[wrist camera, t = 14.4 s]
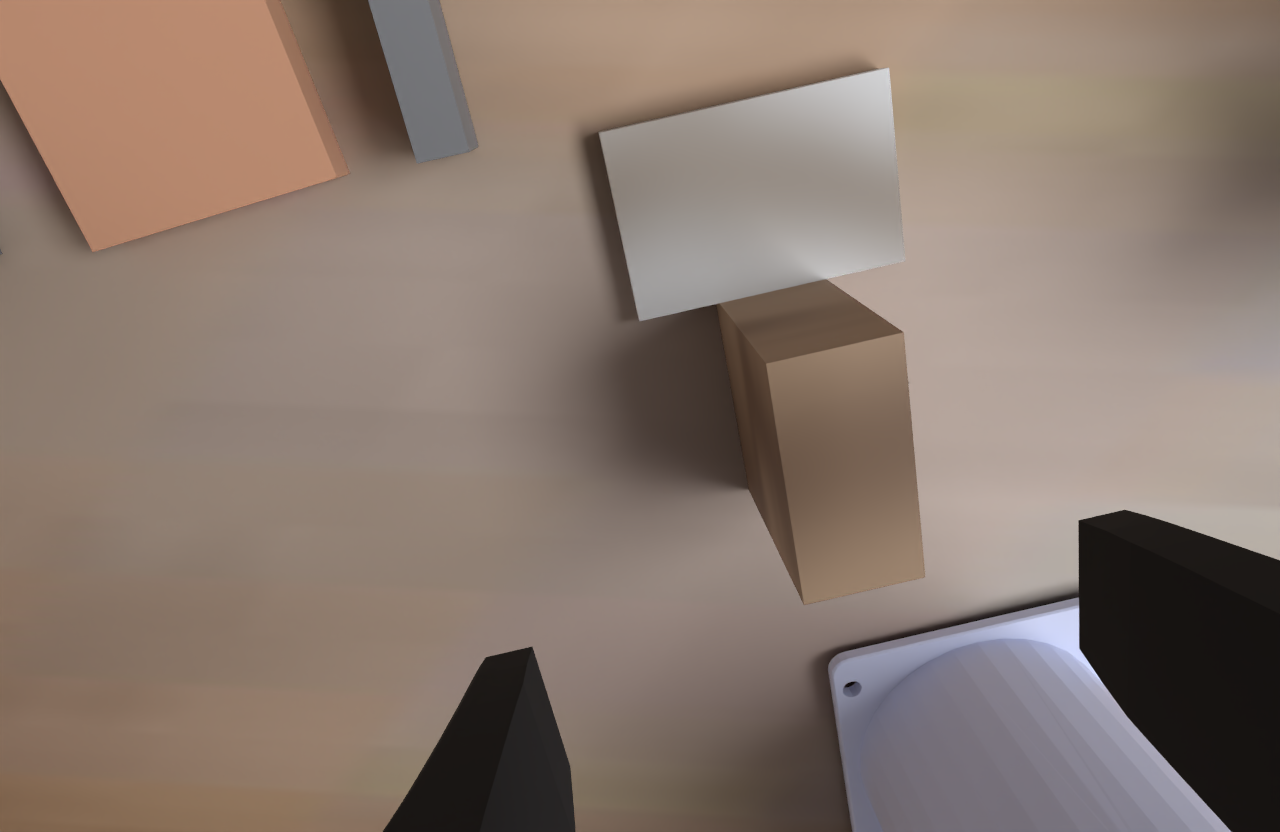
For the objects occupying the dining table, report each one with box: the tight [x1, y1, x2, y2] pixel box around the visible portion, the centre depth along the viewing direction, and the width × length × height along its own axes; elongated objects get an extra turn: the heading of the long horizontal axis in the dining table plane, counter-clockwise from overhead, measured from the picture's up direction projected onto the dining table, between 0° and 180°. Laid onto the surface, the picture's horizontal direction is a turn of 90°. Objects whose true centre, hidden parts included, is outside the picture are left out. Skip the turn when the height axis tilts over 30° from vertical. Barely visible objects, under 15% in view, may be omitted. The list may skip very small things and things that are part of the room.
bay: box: [0, 0, 478, 254], centre depth 15 cm, size 7×11×2 cm, turn 102°
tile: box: [0, 0, 350, 252], centre depth 16 cm, size 5×5×2 cm
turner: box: [598, 68, 925, 605], centre depth 16 cm, size 9×6×5 cm, turn 12°
